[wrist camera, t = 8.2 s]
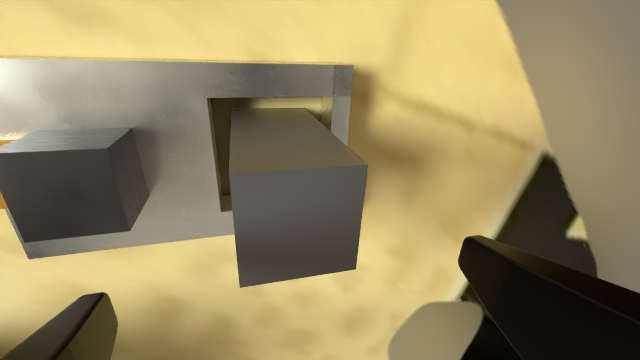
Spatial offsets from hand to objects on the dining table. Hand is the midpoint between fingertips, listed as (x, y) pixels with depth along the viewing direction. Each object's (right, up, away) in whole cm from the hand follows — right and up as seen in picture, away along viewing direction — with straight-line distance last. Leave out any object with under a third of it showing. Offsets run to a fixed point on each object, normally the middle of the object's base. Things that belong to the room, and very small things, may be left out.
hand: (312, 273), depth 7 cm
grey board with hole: (-7, +4, +9) cm, 12 cm away
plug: (-3, +4, +10) cm, 11 cm away
